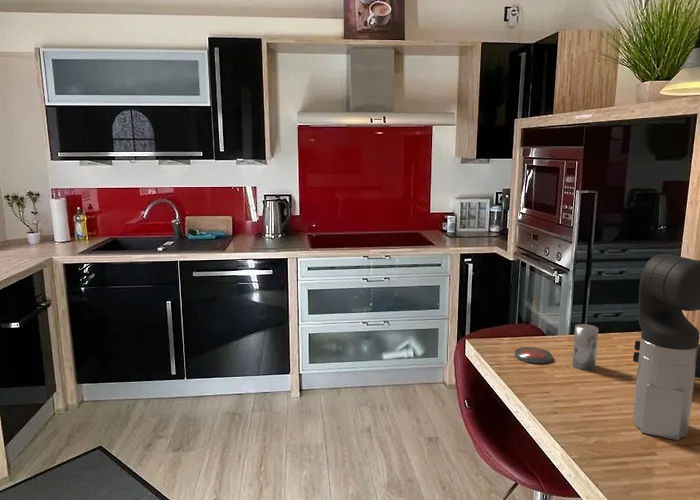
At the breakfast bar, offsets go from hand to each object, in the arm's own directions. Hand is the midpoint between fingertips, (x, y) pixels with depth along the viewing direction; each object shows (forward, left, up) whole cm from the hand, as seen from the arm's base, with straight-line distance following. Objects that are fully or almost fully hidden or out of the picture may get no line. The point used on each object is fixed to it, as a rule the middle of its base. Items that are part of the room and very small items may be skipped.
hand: (634, 350), depth 123 cm
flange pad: (0, +22, -6) cm, 23 cm away
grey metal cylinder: (0, +10, -6) cm, 12 cm away
